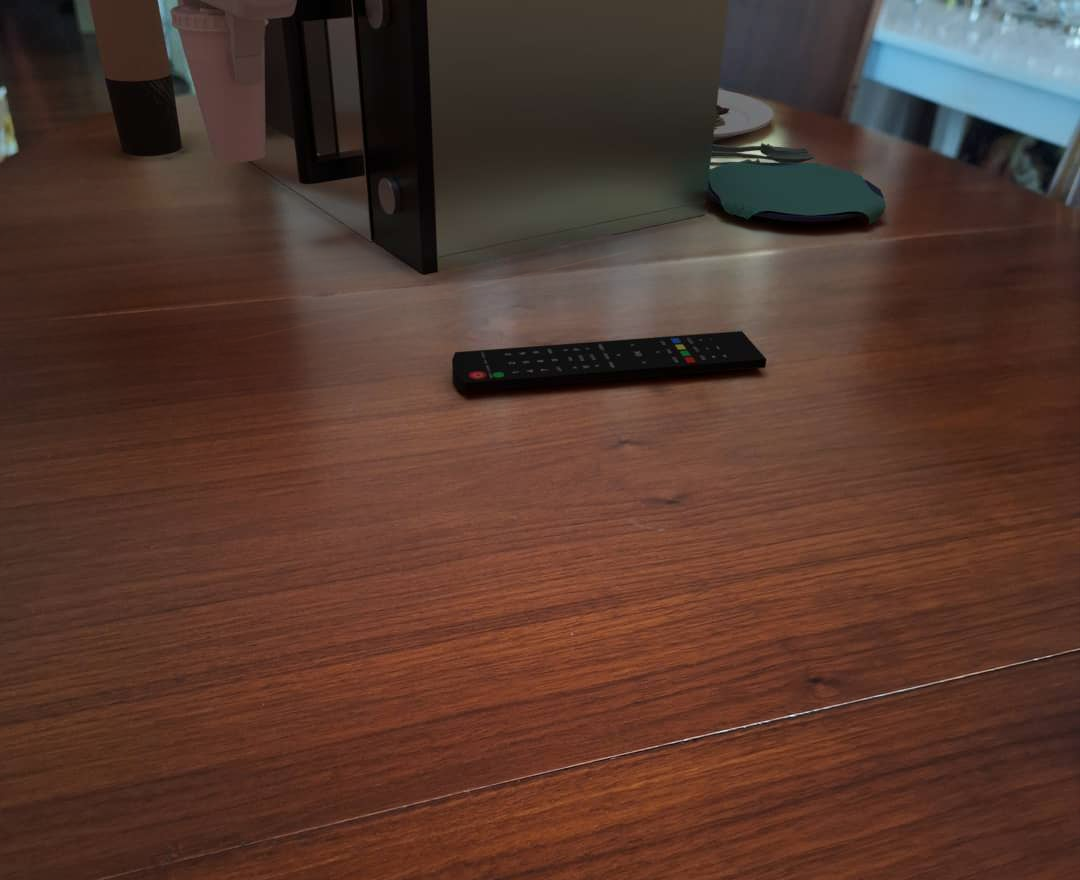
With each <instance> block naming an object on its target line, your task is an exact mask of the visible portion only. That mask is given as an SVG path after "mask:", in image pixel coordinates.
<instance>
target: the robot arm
mask: <svg viewBox="0 0 1080 880" xmlns="http://www.w3.org/2000/svg"><path fill="white" fill-rule="evenodd" d="M176 2H177V6H179V5H184V4H190V3H198V2H204V3H206V4H209V5H211V6H213V7H216V8H218V9H221V10H223V11H225V17H226V24H227V28H229V29H230V36H231V53H228V54H227V55H228V61H229V66H230V75H231V77H232V79H234V80H235V81H237V82H239V83H241V84H243V85H251V84H259V83H261V82H262V80H263V69H262V60H261V54H262V48H263V41H264V35H265V21H264V19H274V18H283V17H290V16H292V15H293V13H294V11H295V8H296V3H297V0H176Z"/></svg>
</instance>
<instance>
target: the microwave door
mask: <svg viewBox="0 0 1080 880" xmlns="http://www.w3.org/2000/svg"><path fill="white" fill-rule="evenodd" d="M267 20H268V22H269V23H268V24H267V25H266V26H265V35H264V50H265V54H264V60H265V133H266V155H265V156H264V157H263V158H260V159H257V160H253V161H249V162H250V163H251V164H252V165H254V166H255V167H257V168H259V169H260V170H262V171H263V172H265V173H266V174H267V175H269V176H270V177H272V178H274V179H276V180H277V181H278V182H280V183H281V184H283V185H284V186H286V187H287V188H289V189H291V190H292V191H293V192H295V193H297V194H298V195H300V197H303V198H304V199H305V200H307V201H309V203H312V204H313V205H314V206H316V207H318V208H319V209H320V210H322V211H323V212H325V213H326V214H328V215H329V216H331V217H333V218H334V219H336V220H337V221H339V222H340V223H342V224H343V225H344V226H346V227H348V229H351V230H352V231H353V232H355V233H356V234H358V235H359V236H361V237H362V238H364V239H366V240H367V241H369V242H375V237H374V224H373V211H372V198H371V184H370V171H369V158H368V145H367V132H366V119H365V106H364V93H363V79H362V66H361V53H360V40H359V27H358V14H357V1H356V0H297V3H296V8H295V11H294V13H293V15H292V16H290V17H283V18H274V19H267Z"/></svg>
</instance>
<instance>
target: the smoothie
mask: <svg viewBox="0 0 1080 880" xmlns="http://www.w3.org/2000/svg"><path fill="white" fill-rule="evenodd" d="M170 15H171V26H172V28H175V29H177V31H178V34H179V35H178V36H179V38H180V42H181V47H182V50H183V53H184V57H185V60H186V63H187V66H188V67H187V68H188V70H189V74H190V77H191V81H192V83H193V84H192V85H193V88H194V92H195V95H196V98H197V102H198V105H199V109H200V112H201V116H202V119H203V123H204V126H205V130H206V134H207V138H208V141H209V144H210V148H211V151H212V154H213V158H214V159H215V160H217V161H221V162H227V163H245V162H250V161H253V160H257V159H260V158H263V157H264V156H265V155H266V133H265V60H264V54H265V50H264V41H263V48H262V54H261V60H262V69H263V80H262V82H261V83H259V84H251V85H243V84H241V83H239V82H237V81H235V80H234V79H232V77H231V75H230V66H229V61H228V55H227V54H228V53H231V36H230V29H229V28H227V24H226V17H225V11H223V10H221V9H218V8H216V7H213V6H211V5H209V4H206V3H204V2H198V3H190V4H184V5H179V6H178V5H176V6H174V7H172V8H171V9H170ZM264 21H265V26H266V25H267V24H268V23H269V22H268V20H267V19H264Z"/></svg>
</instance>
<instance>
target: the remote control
mask: <svg viewBox="0 0 1080 880" xmlns="http://www.w3.org/2000/svg"><path fill="white" fill-rule="evenodd" d="M451 365H452V366H451V367H452V368H451V370H452V385H453V386H454V388H455V390H456V391H457V392H463V393H464V392H477V391H478V392H479V391H489V390H501V389H502V390H503V389H516V388H524V387H525V388H527V387H539V386H540V387H541V386H552V385H564V384H576V383H589V382H602V381H612V380H614V381H616V380H628V379H639V378H652V377H653V378H654V377H663V376H676V375H677V376H678V375H687V374H700V373H701V374H702V373H712V372H713V373H714V372H725V371H726V372H727V371H739V370H751V369H763V368H764V369H765V368H766V365H767V358H766V356H765V355H763V352H761V351H760V349H758V347H757V346H756V345H755V344H754V343H753V342H752V341H751V340H750V338H749V336H747V335H746V333H744V332H743V331H742V330H735V331H726V332H724V331H723V332H710V333H709V332H708V333H696V334H682V335H670V336H669V335H668V336H655V337H642V338H629V339H628V338H627V339H618V340H617V339H614V340H602V341H589V342H587V341H585V342H575V343H574V342H572V343H562V344H561V343H560V344H559V343H558V344H546V345H533V346H522V347H521V346H520V347H507V348H506V347H505V348H491V349H479V350H465V351H455V352H454V354H453V357H452V359H451Z"/></svg>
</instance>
